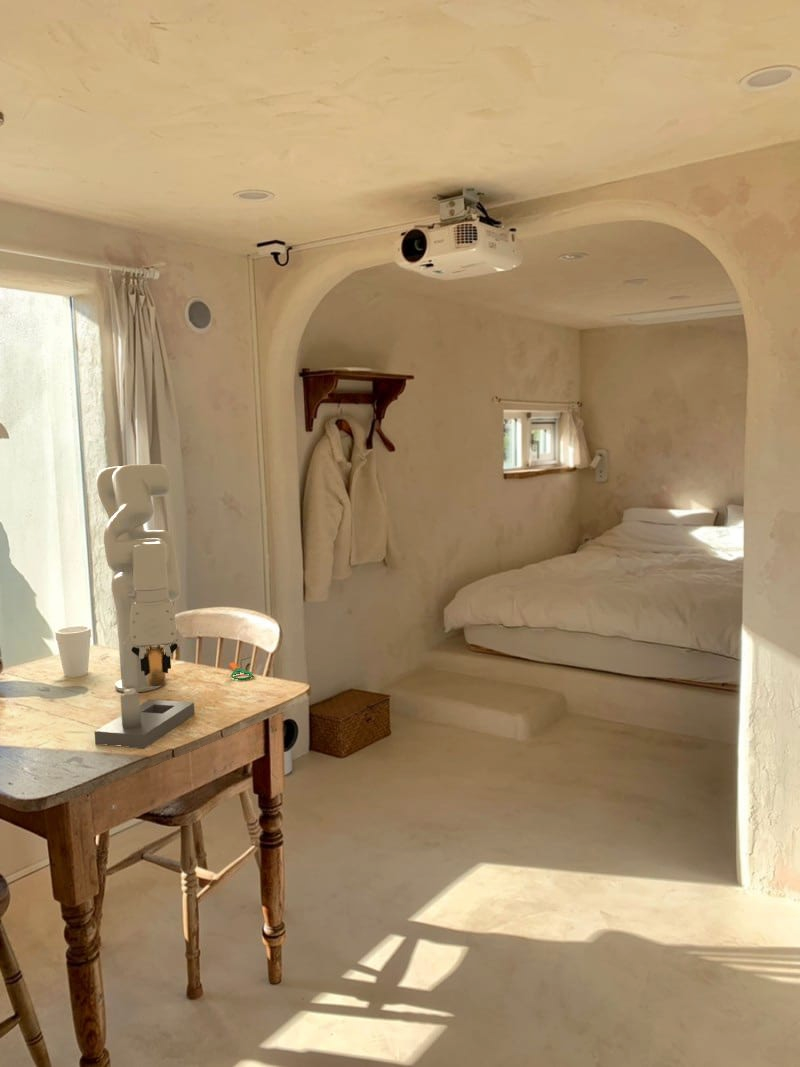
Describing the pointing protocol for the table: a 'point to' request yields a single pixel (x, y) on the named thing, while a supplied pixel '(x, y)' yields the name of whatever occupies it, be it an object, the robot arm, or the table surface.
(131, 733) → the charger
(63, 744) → the table surface
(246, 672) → the magnifying glass
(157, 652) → the amber bottle
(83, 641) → the foam cup
